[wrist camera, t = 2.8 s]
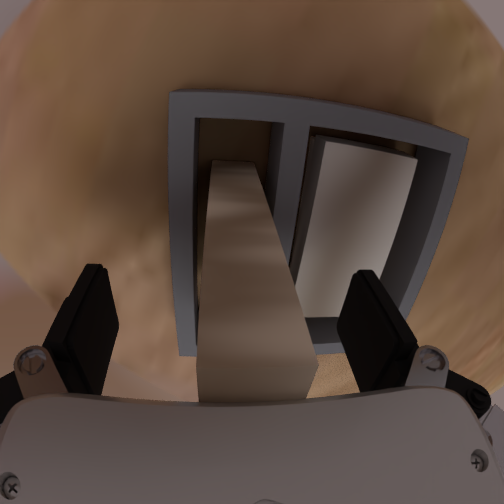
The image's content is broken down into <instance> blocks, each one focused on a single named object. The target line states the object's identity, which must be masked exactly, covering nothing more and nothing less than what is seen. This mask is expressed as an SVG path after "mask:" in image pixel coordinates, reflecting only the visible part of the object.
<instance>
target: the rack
mask: <svg viewBox="0 0 504 504" xmlns="http://www.w3.org/2000/svg"><path fill="white" fill-rule="evenodd" d="M200 118H226V119H244V120H259V121H271V122H272V128H271V137H270V147H269V156H268V166H267V175H266V184H265V197H266V200H267V203H268V206H269V209H270V212H271V215H272V218H273V221H274V224H275V227H276V230H277V233H278V236H279V239H280V242H281V245H282V248H283V251H284V254H285V257H286V261H287V264H289V259H290V253H291V247H292V241H293V235H294V229H295V223H296V217H297V210H298V204H299V198H300V191H301V185H302V178H303V171H304V164H305V157H306V150H307V143H308V136H309V128H310V126H317V127H324V128H331V129H338V130H344V131H350V132H356V133H362V134H368V135H373V136H378V137H383V138H388V139H393V140H398V141H403V142H407V143H411V144H416V145H418V147H417V152H416V157H415V158H416V159H418V161H417V165H416V169H415V172H414V176H413V180H412V183H411V187H410V190H409V194H408V197H407V200H406V204H405V207H404V210H403V213H402V217H401V220H400V223H399V226H398V229H397V232H396V235H395V238H394V241H393V244H392V246H391V249H390V252H389V255H388V258H387V260H386V263H385V266H384V269H383V272H382V275H381V277H380V281H381V283H382V284H383V286H384V287H385V289H386V291H387V292H388V294H389V295H390V297H391V298H392V300H393V302H394V303H395V305H396V306H397V308H398V310H399V311H400V313H401V314H402V316H403V318H404V319H405V321H406V319H407V317H408V314H409V312H410V310H411V308H412V306H413V304H414V302H415V299H416V297H417V295H418V293H419V290H420V288H421V286H422V283H423V281H424V279H425V276H426V274H427V271H428V269H429V267H430V264H431V261H432V259H433V256H434V254H435V251H436V249H437V246H438V243H439V240H440V238H441V235H442V232H443V229H444V226H445V223H446V220H447V217H448V214H449V211H450V208H451V205H452V202H453V198H454V195H455V192H456V188H457V185H458V181H459V177H460V174H461V170H462V166H463V162H464V158H465V154H466V149H467V145H468V141H469V139H468V138H466V137H464V136H461V135H459V134H456V133H454V132H451V131H449V130H446V129H444V128H441V127H438V126H436V125H432V124H429V123H425V122H422V121H418V120H415V119H411V118H407V117H403V116H399V115H395V114H391V113H387V112H383V111H379V110H374V109H369V108H365V107H360V106H355V105H350V104H344V103H339V102H333V101H327V100H321V99H314V98H307V97H300V96H292V95H283V94H274V93H263V92H251V91H236V90H215V89H178V90H175V91H171V92H169V117H168V203H169V232H170V252H171V268H172V283H173V296H174V308H175V318H176V329H177V338H178V347H179V356H194V357H197V341H198V322H199V310H198V296H197V179H198V146H199V123H200ZM304 318H305V321H306V324H307V327H308V331H309V334H310V337H311V341H312V344H313V347H314V351H315V354H316V355H319V354H333V353H345V351H344V348H343V346H342V343H341V340H340V338H339V335H338V333H337V328H336V326H337V321H338V318H339V317H304Z"/></svg>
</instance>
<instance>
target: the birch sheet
mask: <svg viewBox="0 0 504 504" xmlns="http://www.w3.org/2000/svg"><path fill="white" fill-rule="evenodd" d="M318 366H319V364H318V361H317V357H316V354H315V351H314V347H313V344H312V341H311V337H310V334H309V331H308V327H307V324H306V321H305V318H304V314H303V311H302V308H301V305H300V302H299V298H298V295H297V292H296V289H295V286H294V282H293V279H292V276H291V273H290V270H289V267H288V264H287V261H286V257H285V254H284V251H283V248H282V245H281V242H280V239H279V236H278V233H277V230H276V227H275V224H274V221H273V218H272V215H271V212H270V209H269V206H268V203H267V200H266V197H265V194H264V191H263V188H262V185H261V182H260V179H259V177H258V174H257V171H256V168H255V165H254V162H242V161H220V160H212V169H211V178H210V187H209V197H208V207H207V217H206V228H205V239H204V251H203V263H202V276H201V290H200V305H199V322H198V341H197V362H196V371H197V384H198V397H199V402H263V401H282V400H297V399H306V397H307V394H308V392H309V389H310V387H311V384H312V381H313V379H314V376H315V374H316V371H317V368H318Z"/></svg>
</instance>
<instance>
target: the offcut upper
mask: <svg viewBox="0 0 504 504" xmlns="http://www.w3.org/2000/svg"><path fill="white" fill-rule="evenodd" d="M417 161H418V159H416V158H414V157H412V156H411V155H409V154H407V153H405V152H403V151H399V150H395V149H391V148H386V147H381V146H377V145H372V144H367V143H362V142H357V141H351V140H346V139H340V138H334V137H328V136H322V135H316V138H315V144H314V149H313V155H312V161H311V166H310V172H309V177H308V183H307V188H306V193H305V198H304V204H303V209H302V214H301V219H300V224H299V229H298V234H297V239H296V244H295V248H294V253H293V258H292V263H291V267H290V273H291V276H292V279H293V282H294V286H295V289H296V292H297V295H298V298H299V302H300V305H301V308H302V311H303V314H304V317H339V315H340V312H341V309H342V306H343V303H344V300H345V297H346V294H347V291H348V288H349V285H350V281H351V278H352V275H353V274H354V273H356V272H357V271H358V270H373V271H374V272H375V274H376V275H377V277H378V278H379V279H380V276H381V274H382V271H383V268H384V266H385V263H386V260H387V258H388V255H389V252H390V249H391V246H392V244H393V241H394V238H395V235H396V232H397V229H398V226H399V223H400V220H401V217H402V213H403V210H404V207H405V204H406V200H407V197H408V194H409V190H410V187H411V183H412V180H413V176H414V172H415V169H416V165H417Z"/></svg>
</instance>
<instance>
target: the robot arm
mask: <svg viewBox="0 0 504 504" xmlns="http://www.w3.org/2000/svg"><path fill="white" fill-rule="evenodd" d="M336 328H337V333H338V335H339V338H340V340H341V343H342V346H343V348H344V351H345V353H346V356H347V358H348V361H349V364H350V366H351V369H352V372H353V374H354V377H355V380H356V382H357V385H358V388H359V390H360V393H352V394H345V395H337V396H328V397H318V398H307V399H297V400H282V401H263V402H179V401H178V402H177V401H158V400H145V399H133V398H120V397H110V396H101V394H102V389H103V386H104V381H105V378H106V374H107V370H108V365H109V362H110V358H111V355H112V351H113V347H114V344H115V340H116V337H117V333H118V329H119V321H118V317H117V313H116V308H115V304H114V300H113V295H112V291H111V286H110V281H109V276H108V271H107V269H106V268H103V266H102V265H101V264H86V266H85V267H84V269H83V271H82V273H81V275H80V276H79V278H78V280H77V282H76V284H75V286H74V288H73V289H72V291H71V293H70V295H69V297H67V298H66V299H65V300H64V302H63V304H62V306H61V308H60V310H59V312H58V314H57V316H56V318H55V320H54V322H53V324H52V326H51V328H50V330H49V332H48V334H47V336H46V339H45V341H44V343H43V345H42V346H38V345H35V346H29V347H26V348H25V349H23V350H21V351H20V352H19V353H18V355H17V356H16V358H15V360H14V364H13V365H14V371H13V372H11V373H9V374H7V375H5V376H4V377H1V378H0V504H504V411H503V410H502V409H500V408H499V407H498V406H497V405H496V404H495V405H494V406H492V405H491V398H490V395H489V393H488V391H487V390H486V389H485V388H484V387H482V386H481V385H479V384H477V383H475V382H473V381H471V380H469V379H467V378H465V377H463V376H461V375H459V374H457V373H455V372H453V371H451V370H449V361H448V359H447V357H446V355H445V354H444V353H443V352H442V351H441V350H440V349H438V348H436V347H433V346H429V345H425V346H421V347H419V346H418V344H417V339H416V338H415V336H414V334H413V332H412V331H411V329H410V327H409V326H408V324H407V323H406V321H405V319H404V318H403V316H402V314H401V313H400V311H399V310H398V308H397V306H396V305H395V303H394V302H393V300H392V298H391V297H390V295H389V294H388V292H387V291H386V289H385V287H384V286H383V284H382V283H381V281H380V280H379V278H378V277H377V275H376V274H375V272H374V271H373V270H358V271H357V272H356V273H354V274H353V275H352V278H351V281H350V285H349V288H348V291H347V294H346V297H345V300H344V303H343V306H342V309H341V312H340V315H339V318H338V321H337V326H336Z"/></svg>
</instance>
